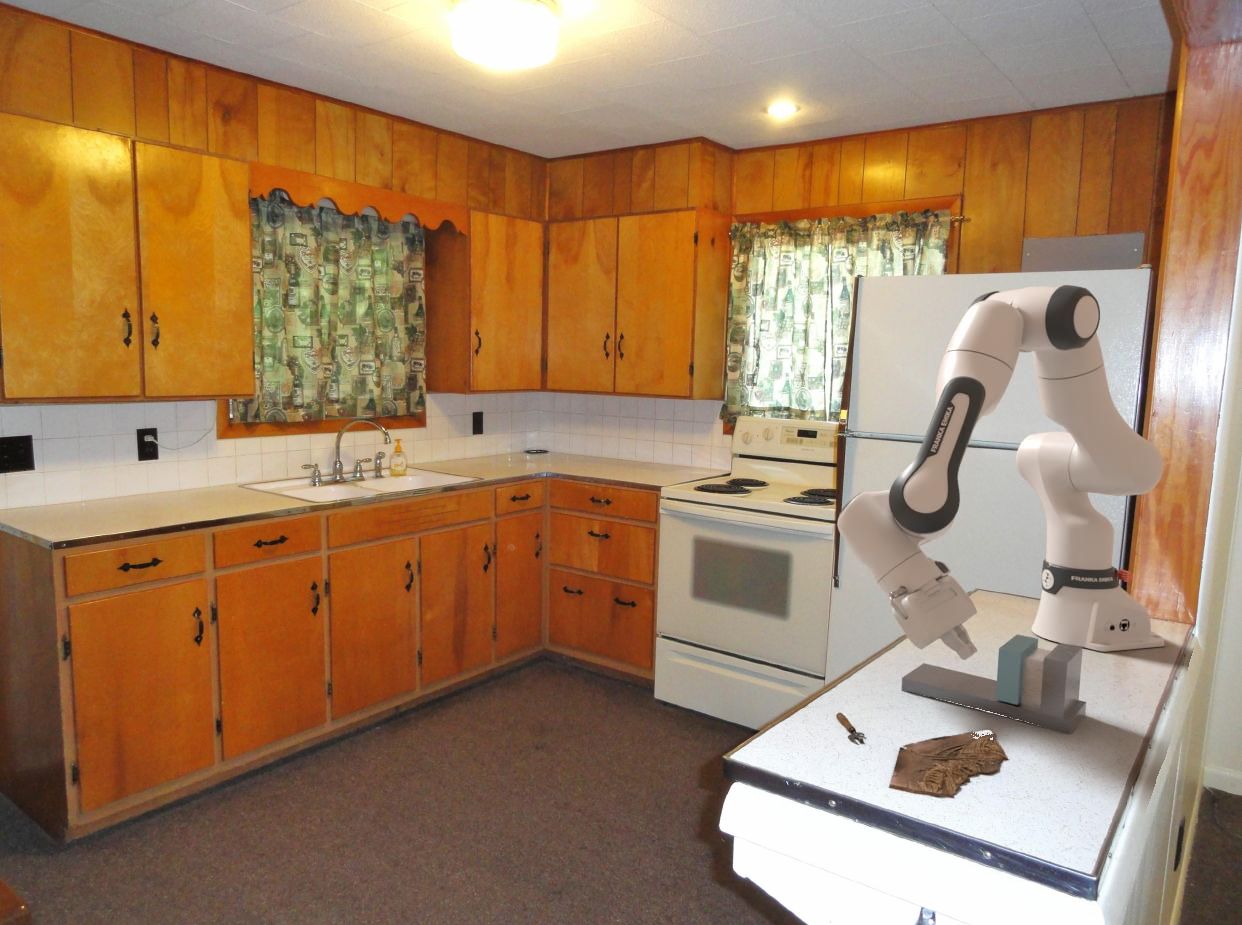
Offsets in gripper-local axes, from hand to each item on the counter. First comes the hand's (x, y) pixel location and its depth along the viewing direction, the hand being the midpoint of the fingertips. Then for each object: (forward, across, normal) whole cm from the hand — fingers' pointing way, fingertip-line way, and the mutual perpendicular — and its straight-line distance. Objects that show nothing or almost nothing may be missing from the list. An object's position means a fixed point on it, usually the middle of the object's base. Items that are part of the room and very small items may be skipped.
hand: (971, 655), depth 128 cm
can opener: (-1, -24, +11) cm, 26 cm away
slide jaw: (+8, 0, -2) cm, 8 cm away
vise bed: (+7, 0, +2) cm, 7 cm away
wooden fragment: (+9, -23, +1) cm, 25 cm away
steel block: (+10, 0, -4) cm, 11 cm away
